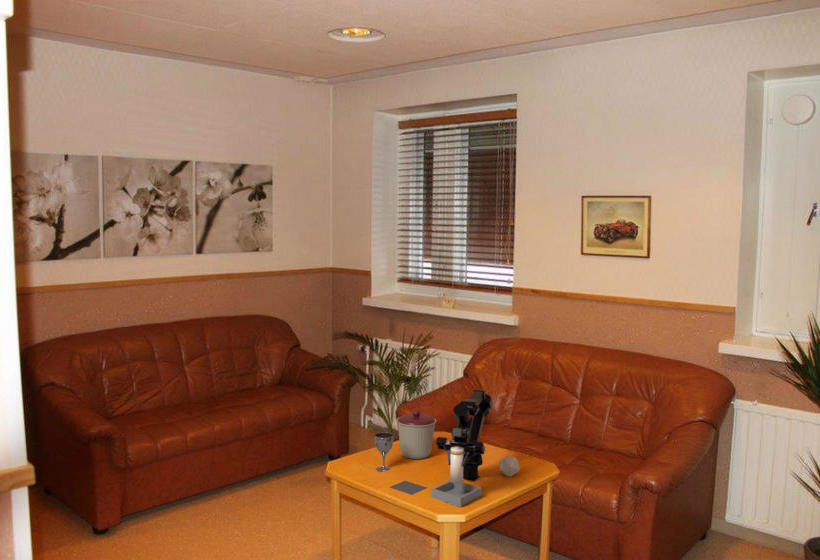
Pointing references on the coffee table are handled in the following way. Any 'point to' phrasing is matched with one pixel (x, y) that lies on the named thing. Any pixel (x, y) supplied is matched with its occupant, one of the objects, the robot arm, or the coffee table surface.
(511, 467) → the die
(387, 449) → the wine glass
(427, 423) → the canister
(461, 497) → the bin
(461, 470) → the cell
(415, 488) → the mat
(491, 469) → the coffee table surface
